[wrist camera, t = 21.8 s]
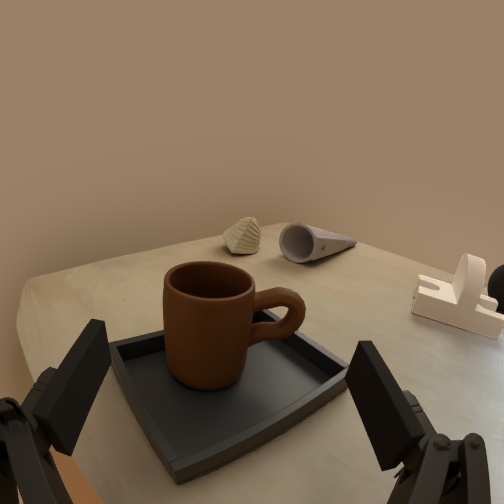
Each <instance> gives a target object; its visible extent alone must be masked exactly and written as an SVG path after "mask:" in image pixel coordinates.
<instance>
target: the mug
mask: <svg viewBox="0 0 504 504" xmlns="http://www.w3.org/2000/svg"><path fill="white" fill-rule="evenodd" d="M278 306H285V307H287V308H289V309H288V312H287V314H286V315H285V317H284V318H283V319H281V320H280V321H277V322H259V323H255V324H252V318H253V313H255V312H258V311H262V310H266V309H270V308H274V307H278ZM305 311H306V308H305V304H304V301H303V300H302V298H301V297H300V296H299V294H298V293H296V292H294V291H292V290H290V289H286V288H281V287H276V288H272V289H268V290H264V291H260V292H255V282H254V279H253V278H252V276H251V275H250V274H249V273H247V272H246V271H244V270H242V269H240V268H238V267H235V266H232V265H229V264H225V263H219V262H210V261H197V262H189V263H184V264H180V265H177V266H175V267H173V268H171V269H170V270H169V271H168V272H167V273H166V275H165V277H164V289H163V321H164V338H165V351H166V361H167V365H168V368H169V370H170V372H171V374H172V375H173V376H174V377H175V378H176V379H177V380H178V381H180V382H181V383H183V384H184V385H186V386H189V387H192V388H195V389H200V390H216V389H221V388H224V387H227V386H229V385H231V384H232V383H234V382H235V381H236V380H238V379H239V377H240V376H241V375H242V373H243V371H244V368H245V364H246V358H247V351H248V348H249V347H250V346H252V345H254V344H257V343H260V342H262V341H273V340H280V339H283V338H286V337H288V336H290V335H291V334H293V333H294V332H295V331H296V330H298V329H299V327H300V326H301V324H302V323H303V320H304V318H305Z"/></svg>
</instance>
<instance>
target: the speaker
mask: <svg viewBox="0 0 504 504" xmlns="http://www.w3.org/2000/svg"><path fill="white" fill-rule="evenodd" d="M488 296H489V297H491V298H494V299H496V300H497V302H498V306H497V309H499V310H501V311H504V265H501V266H499V267H498V268H497V269H495V270H494V272H493V273H492V275H491V277H490V279H489V282H488Z"/></svg>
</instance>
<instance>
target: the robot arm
mask: <svg viewBox="0 0 504 504" xmlns="http://www.w3.org/2000/svg"><path fill="white" fill-rule="evenodd" d="M111 363H112V358H111V354H110V349H109V344H108V339H107V333H106V327H105V321H102V320H96V319H91V320H90V322H89V323H88V324H87V326H86V327H85V329H84V330H83V331H82V333H81V334H80V336H79V337H78V339H77V340H76V342H75V343H74V345H73V346H72V347H71V349H70V350H69V352H68V353H67V355H66V357H65V358H64V360H63V361H62V363H61V364H60V366H59V367H58V369H55V368H52V367H49V368H48V369H46V370H45V371H43V372H42V373H41V375H40V376H39V378H38V379H37V382H35V384H34V385H33V388H32V389H31V390H30V392H29V393H28V395H27V397H26V398H25V400H24V401H23V403H22V405H21V406H20V405H19V404H18V402H17V401H16V400H15V399H13V398H9V397H6V398H2V399H0V504H19V499H18V490H17V486H18V489H19V492H20V495H21V497H22V500H23V503H24V504H73V502H72V500H71V498H70V496H69V494H68V492H67V490H66V488H65V486H64V484H63V481H62V479H61V477H60V475H59V472H58V470H57V467H56V465H55V462H54V460H53V457H52V455H51V453H50V451H49V448H50V446H51V444H52V446H53V447H54V448H55V450H56V451H58V452H60V453H63V454H65V455H68V456H71V455H72V453H73V450H74V448H75V445H76V442H77V440H78V437H79V435H80V432H81V430H82V428H83V425H84V423H85V420H86V418H87V416H88V413H89V411H90V409H91V406H92V404H93V402H94V399H95V397H96V395H97V393H98V391H99V388H100V386H101V384H102V382H103V380H104V377H105V375H106V373H107V371H108V369H109V367H110V365H111ZM344 379H345V381H346V383H347V386H348V388H349V391H350V393H351V395H352V398H353V400H354V403H355V405H356V407H357V410H358V412H359V415H360V417H361V420H362V422H363V424H364V427H365V429H366V432H367V434H368V437H369V439H370V442H371V444H372V447H373V449H374V452H375V455H376V457H377V460H378V462H379V465H380V467H381V470H382V471H385V470H389V469H393V468H396V467H397V466H398V465H399V464H400V463H401V462H403V464H404V467H403V468H402V469H401V470H400V471H399V472H398V473H397V474H396V475H395V476H394V478H396V477H397V476H398V475H399V477H398V479H397V482H396V484H395V486H394V489H393V491H392V493H391V495H390V498H389V500H388V502H387V504H491V496H490V481H489V471H488V462H487V455H486V448H485V443H484V440H483V438H482V437H481V436H480V435H478V434H476V433H470V434H468V435H467V436H466V437H465V438H464V439H463V440H450V439H449V438H448V437H447V436H445V435H443V434H437V433H436V431H435V430H434V428H433V426H432V424H431V423H430V421H429V419H428V417H427V416H426V414H425V412H423V409H422V407H421V406H420V404H419V402H418V401H417V399H416V397H415V396H414V395H413V394H411V393H410V392H409V391H408V390H407V391H402V390H401V389H400V387H399V385H398V384H397V382H396V380H395V379H394V377H393V375H392V374H391V372H390V370H389V369H388V367H387V365H386V364H385V362H384V360H383V359H382V357H381V355H380V354H379V352H378V351H377V349H376V347H375V346H374V344H373V343H372V341H359V342H358V345H357V347H356V350H355V353H354V355H353V358H352V360H351V363H350V365H349V368H348V370H347V372H346V375H345V377H344ZM460 473H461V476H460Z"/></svg>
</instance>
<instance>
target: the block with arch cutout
mask: <svg viewBox="0 0 504 504" xmlns="http://www.w3.org/2000/svg"><path fill="white" fill-rule="evenodd" d="M485 276H486V263H485V260H484V259H481V258H478V257H475V256H473V255H470V254H464V255H463V256H462V258H461V260H460V262H459V265H458V267H457V270H456V273H455V276H454V279H453V282H452V284H449V283H446V282H443V281H439V280H436V279H433V278H430V277H427V276H424V275H421V274H419V276H418V279H417V282H416V286H415V289H414V292H413V297H415V299H414V301H413V304H412V313H414V314H418V315H421V316H424V317H427V318H430V319H433V320H436V321H439V322H443V323H446V324H449V325H452V326H455V327H458V328H461V329H465V330H467V331H470V332H473V333H476V334H480V335H483V336H486V337H489V338H492V339H497V338H498V336H499V334H500V332H501V330H502V328H503V326H504V315H503V314H500V313H497V312H495V311H496V308H497V306H498V302H497V300H496V299H494V298H491V297H488V296H485V295H482V294H481V293H482V290H483V286H484V282H485Z"/></svg>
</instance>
